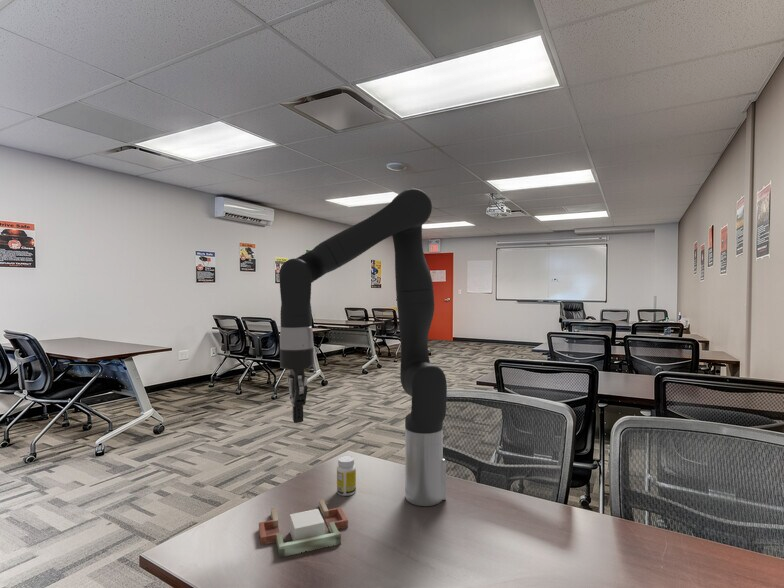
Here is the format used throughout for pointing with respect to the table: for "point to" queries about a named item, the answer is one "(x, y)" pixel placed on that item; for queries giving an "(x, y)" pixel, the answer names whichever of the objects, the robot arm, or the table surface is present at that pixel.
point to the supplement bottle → (346, 476)
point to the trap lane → (334, 521)
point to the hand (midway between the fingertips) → (298, 421)
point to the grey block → (306, 524)
